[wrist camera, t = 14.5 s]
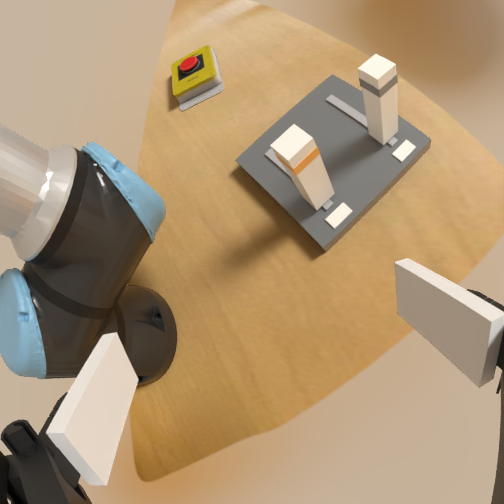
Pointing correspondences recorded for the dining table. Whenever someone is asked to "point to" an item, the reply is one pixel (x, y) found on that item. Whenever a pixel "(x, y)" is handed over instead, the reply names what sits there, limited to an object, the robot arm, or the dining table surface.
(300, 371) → the dining table surface
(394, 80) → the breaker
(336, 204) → the panel
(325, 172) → the block
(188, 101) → the emergency button
